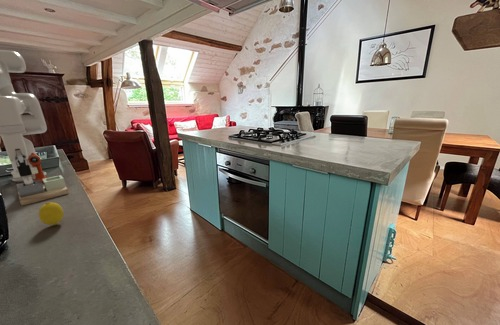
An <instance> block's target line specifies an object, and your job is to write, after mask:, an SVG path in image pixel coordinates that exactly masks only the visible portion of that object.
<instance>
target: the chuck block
mask: <svg viewBox="0 0 500 325" xmlns="http://www.w3.org/2000/svg"><path fill="white" fill-rule="evenodd" d="M33 183H34V184H31V185H26V186H25V183H24V182H21V183H16V189H17V193H18V192H19V194H18V196H19V195H20V197H21V198H23V197H27V196H31V195H35V194H40V193H44V192H45V191H44V188H43V186H44V184H42V182H41V180H40V179H39V180H35V179H34V180H33Z"/></svg>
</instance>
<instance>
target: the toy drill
mask: <svg viewBox="0 0 500 325" xmlns="http://www.w3.org/2000/svg"><path fill="white" fill-rule="evenodd" d="M28 161H29V163H30V164H31V165H32V167H37V170H38V173H36V174H35V177H36V178H35V179H34V180H39V179H40V180H41V182H42V185H44V183H43V180H42V179H45V178H48V177H47V175H44V173H43V172H44V171H43V169H42V164H41V163H42V160H41V157H40V156H39V155H38V154H34V153H31V155H30V156H29V157H28Z"/></svg>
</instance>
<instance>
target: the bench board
mask: <svg viewBox="0 0 500 325" xmlns="http://www.w3.org/2000/svg"><path fill="white" fill-rule="evenodd" d="M43 188H44V191H45V192H44V193H40V194H35V195H31V196H27V197H23V198H21V197H20V195H19V192H18V191H17V193H18V199H19V202H20V205H21V206H26V205H31V204H34V203H38V202H40V201H41V202H42V201H44V200H49V199H53V198H56V197H61V196H63V195H64V196H65V195H68V194H70V192H69V189H68V187H67V186H66V187H63V188H59V189H55V190H51V191H47V190H46V188H45V186H44V185H43Z"/></svg>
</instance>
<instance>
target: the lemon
mask: <svg viewBox="0 0 500 325" xmlns="http://www.w3.org/2000/svg"><path fill="white" fill-rule="evenodd" d="M64 214H65V213H64V210H63V208H62V206H61V205H60V204H59V203H57V202H51V201H47V202H46V203H44V204H43V205H42V206H41V207H40V208H39V211H38V216H39V220H40V221H41V222H42V223H43V224H44V225H49V226H50V225H51V226H56V225H57V224H58V223H59V222H60V223H61V221H62V219H64V218H63V217H64Z"/></svg>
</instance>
